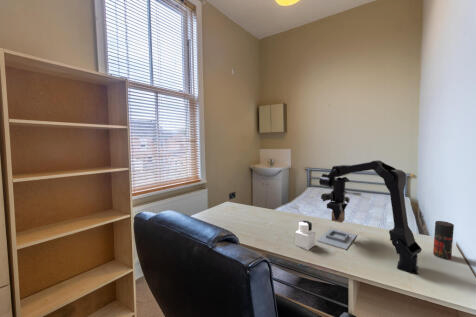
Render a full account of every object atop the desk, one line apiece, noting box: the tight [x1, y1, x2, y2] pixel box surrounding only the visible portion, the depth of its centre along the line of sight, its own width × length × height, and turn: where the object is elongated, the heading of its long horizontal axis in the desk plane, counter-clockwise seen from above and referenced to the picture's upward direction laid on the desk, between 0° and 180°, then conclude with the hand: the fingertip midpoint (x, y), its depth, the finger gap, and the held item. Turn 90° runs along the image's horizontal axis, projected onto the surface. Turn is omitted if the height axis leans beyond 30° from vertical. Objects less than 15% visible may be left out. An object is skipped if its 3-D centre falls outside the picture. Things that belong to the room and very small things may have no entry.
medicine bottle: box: [294, 220, 316, 251], centre depth 109 cm, size 7×7×12 cm
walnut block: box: [331, 210, 346, 224], centre depth 115 cm, size 5×5×5 cm
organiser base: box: [316, 227, 358, 250], centre depth 116 cm, size 20×14×2 cm
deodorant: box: [432, 220, 455, 261], centre depth 97 cm, size 6×6×15 cm
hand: (338, 218), depth 115 cm, fingers closed on walnut block, 5 cm apart
